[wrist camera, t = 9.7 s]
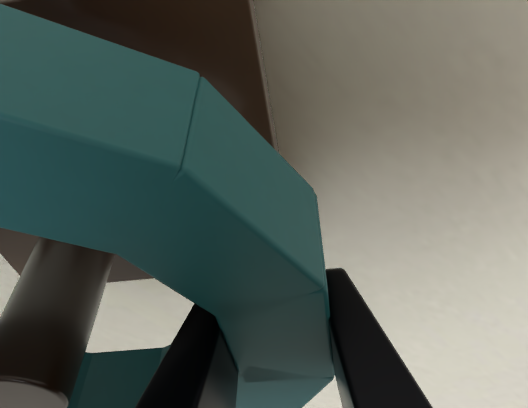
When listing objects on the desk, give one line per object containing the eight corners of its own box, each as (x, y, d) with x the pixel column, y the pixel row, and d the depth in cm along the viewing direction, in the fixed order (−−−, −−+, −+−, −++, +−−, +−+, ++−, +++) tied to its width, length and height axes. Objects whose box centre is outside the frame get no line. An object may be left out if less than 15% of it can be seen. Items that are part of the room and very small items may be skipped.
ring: (-20, 391, 15) (-55, 469, 14) (-458, 70, 7) (-686, 166, 5) (333, 366, 14) (343, 449, 12) (290, -57, 6) (301, 15, 4)
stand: (43, 265, 18) (-56, 486, 12) (-156, 14, 11) (-574, 259, 6) (293, 239, 17) (307, 470, 11) (244, -56, 10) (219, 164, 4)
